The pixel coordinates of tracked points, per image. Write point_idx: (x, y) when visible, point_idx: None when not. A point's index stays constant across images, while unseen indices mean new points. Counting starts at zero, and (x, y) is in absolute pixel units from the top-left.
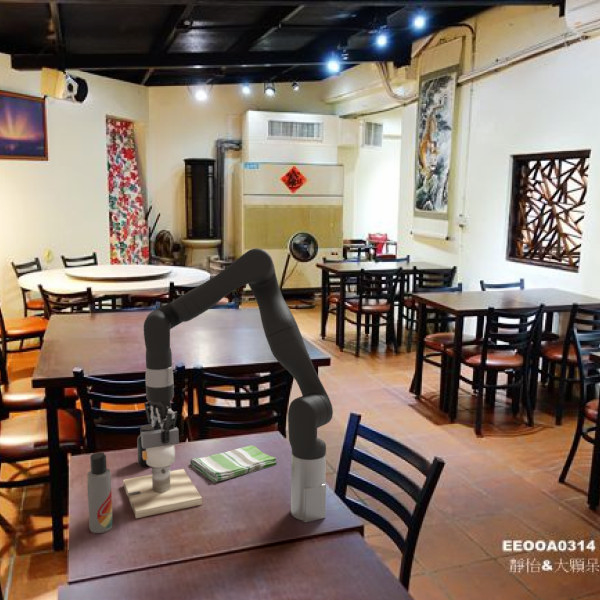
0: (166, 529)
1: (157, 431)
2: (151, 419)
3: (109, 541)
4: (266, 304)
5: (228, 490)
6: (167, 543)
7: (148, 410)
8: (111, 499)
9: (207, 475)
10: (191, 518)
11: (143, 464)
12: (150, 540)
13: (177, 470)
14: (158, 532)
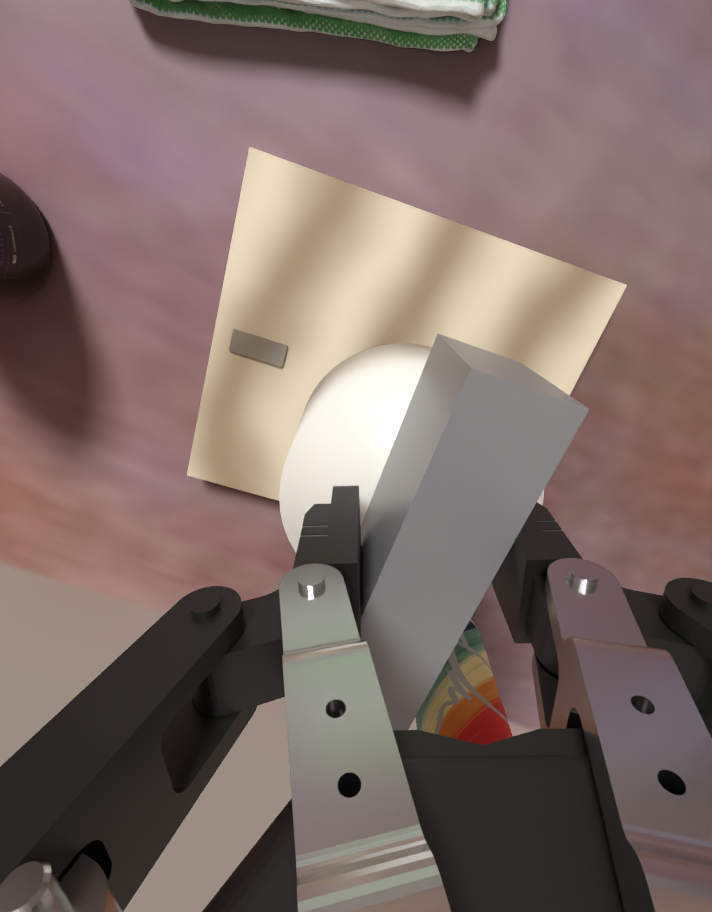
0: (630, 502)
1: (418, 618)
2: (237, 708)
3: (533, 648)
4: None
5: (618, 44)
6: (701, 541)
7: (126, 896)
8: (492, 702)
9: (373, 28)
10: (655, 391)
11: (29, 292)
12: (637, 569)
13: (248, 195)
14: (621, 530)
